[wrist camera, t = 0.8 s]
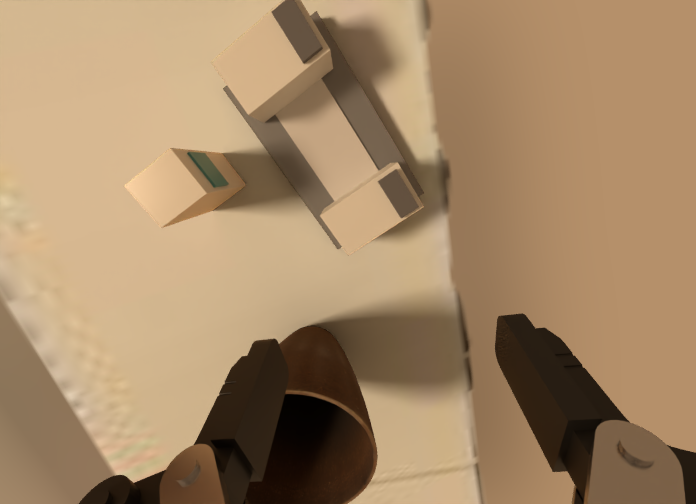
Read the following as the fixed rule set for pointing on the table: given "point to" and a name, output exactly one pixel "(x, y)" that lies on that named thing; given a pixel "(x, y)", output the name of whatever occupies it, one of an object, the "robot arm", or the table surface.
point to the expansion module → (184, 185)
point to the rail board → (319, 125)
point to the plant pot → (318, 428)
